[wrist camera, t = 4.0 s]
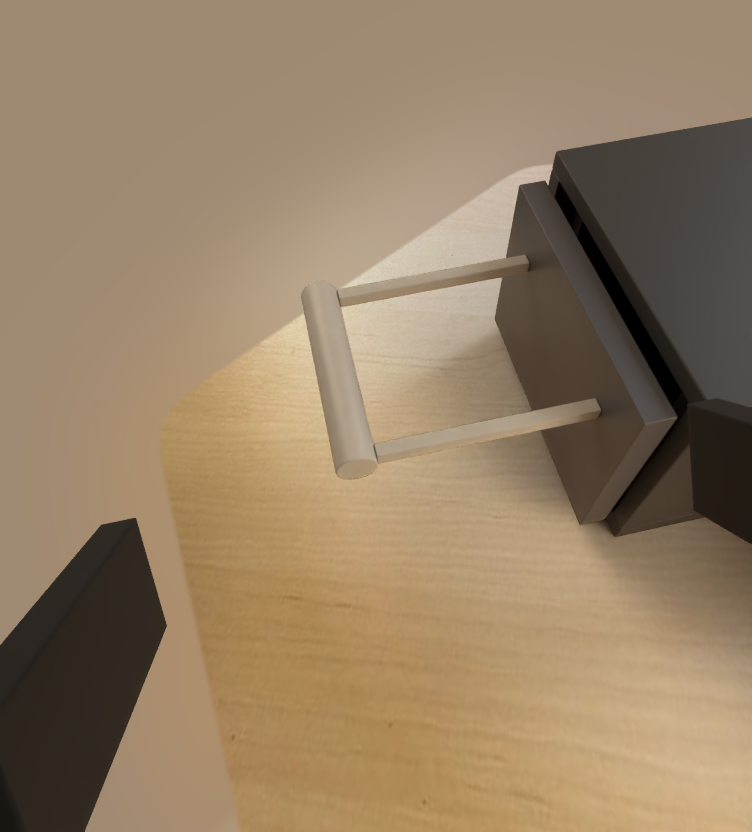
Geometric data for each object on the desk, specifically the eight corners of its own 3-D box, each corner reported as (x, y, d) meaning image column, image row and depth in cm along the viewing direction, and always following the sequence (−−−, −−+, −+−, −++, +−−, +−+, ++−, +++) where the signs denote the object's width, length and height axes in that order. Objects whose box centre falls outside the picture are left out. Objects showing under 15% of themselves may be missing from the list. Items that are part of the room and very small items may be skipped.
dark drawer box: (614, 537, 28) (714, 414, 19) (517, 316, 36) (555, 150, 26) (906, 472, 29) (1131, 326, 20) (754, 271, 37) (870, 96, 28)
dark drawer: (357, 574, 27) (337, 488, 19) (313, 353, 34) (286, 225, 26) (855, 464, 29) (1015, 346, 21) (720, 275, 35) (806, 134, 28)
